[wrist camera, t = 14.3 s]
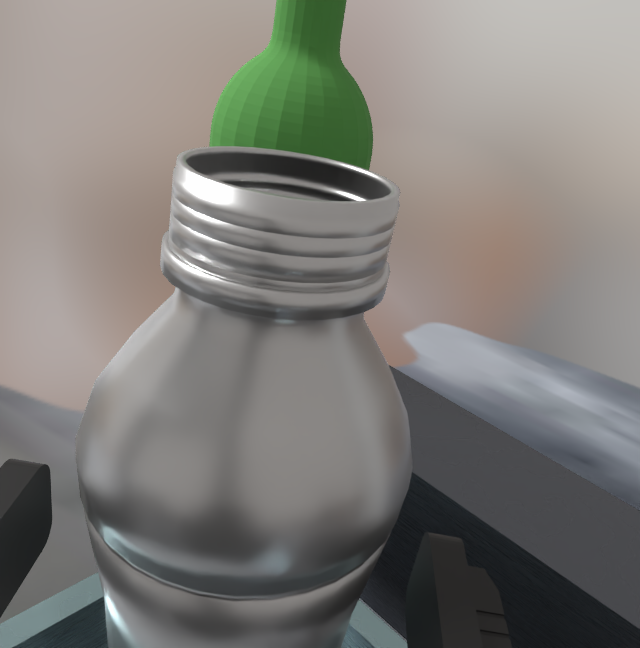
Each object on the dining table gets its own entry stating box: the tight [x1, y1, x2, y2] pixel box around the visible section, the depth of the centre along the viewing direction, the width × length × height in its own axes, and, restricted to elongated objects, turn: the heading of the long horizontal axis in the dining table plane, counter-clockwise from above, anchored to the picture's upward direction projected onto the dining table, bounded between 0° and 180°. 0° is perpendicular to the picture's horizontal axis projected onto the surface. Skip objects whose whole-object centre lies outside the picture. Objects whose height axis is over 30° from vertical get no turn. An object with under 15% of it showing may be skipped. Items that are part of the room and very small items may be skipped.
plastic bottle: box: [75, 146, 413, 648], centre depth 14 cm, size 6×7×20 cm
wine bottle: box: [209, 0, 373, 170], centre depth 30 cm, size 8×8×30 cm
